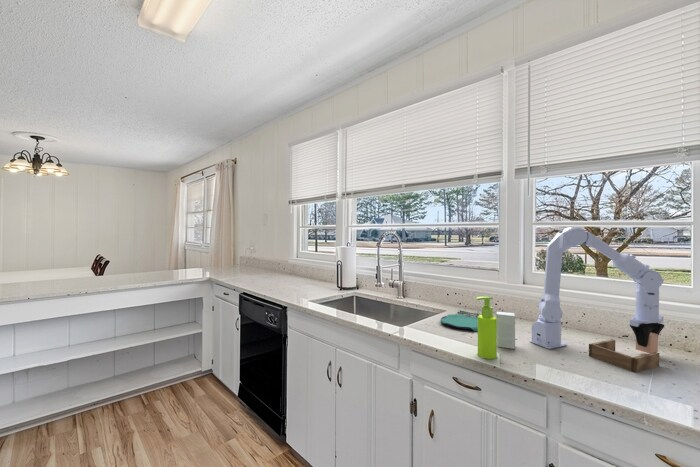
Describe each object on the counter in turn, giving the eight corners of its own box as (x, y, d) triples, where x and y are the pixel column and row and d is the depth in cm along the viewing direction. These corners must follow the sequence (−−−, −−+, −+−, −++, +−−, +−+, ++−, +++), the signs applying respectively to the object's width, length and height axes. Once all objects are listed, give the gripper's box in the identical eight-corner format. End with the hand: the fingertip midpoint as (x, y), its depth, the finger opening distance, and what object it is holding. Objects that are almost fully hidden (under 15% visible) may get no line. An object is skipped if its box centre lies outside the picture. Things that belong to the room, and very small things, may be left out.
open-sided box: (634, 372, 93) (635, 359, 93) (588, 355, 105) (588, 343, 105) (659, 366, 97) (659, 353, 97) (612, 350, 109) (612, 339, 109)
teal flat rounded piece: (433, 326, 138) (433, 321, 138) (456, 312, 162) (456, 307, 162) (481, 335, 126) (481, 330, 126) (498, 319, 150) (498, 314, 150)
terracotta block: (650, 353, 103) (650, 335, 103) (635, 349, 107) (635, 331, 106) (657, 351, 104) (657, 334, 104) (643, 347, 108) (643, 330, 108)
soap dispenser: (471, 352, 109) (471, 295, 108) (490, 351, 109) (490, 294, 109) (480, 359, 103) (480, 299, 102) (500, 358, 103) (500, 298, 103)
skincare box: (514, 345, 115) (514, 312, 115) (515, 349, 111) (515, 316, 111) (496, 342, 117) (496, 311, 117) (496, 346, 114) (496, 314, 113)
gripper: (648, 309, 99) (648, 352, 99) (675, 305, 104) (674, 346, 104) (622, 304, 105) (622, 344, 106) (649, 300, 110) (648, 339, 111)
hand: (646, 344), depth 105 cm, fingers closed on terracotta block, 4 cm apart
